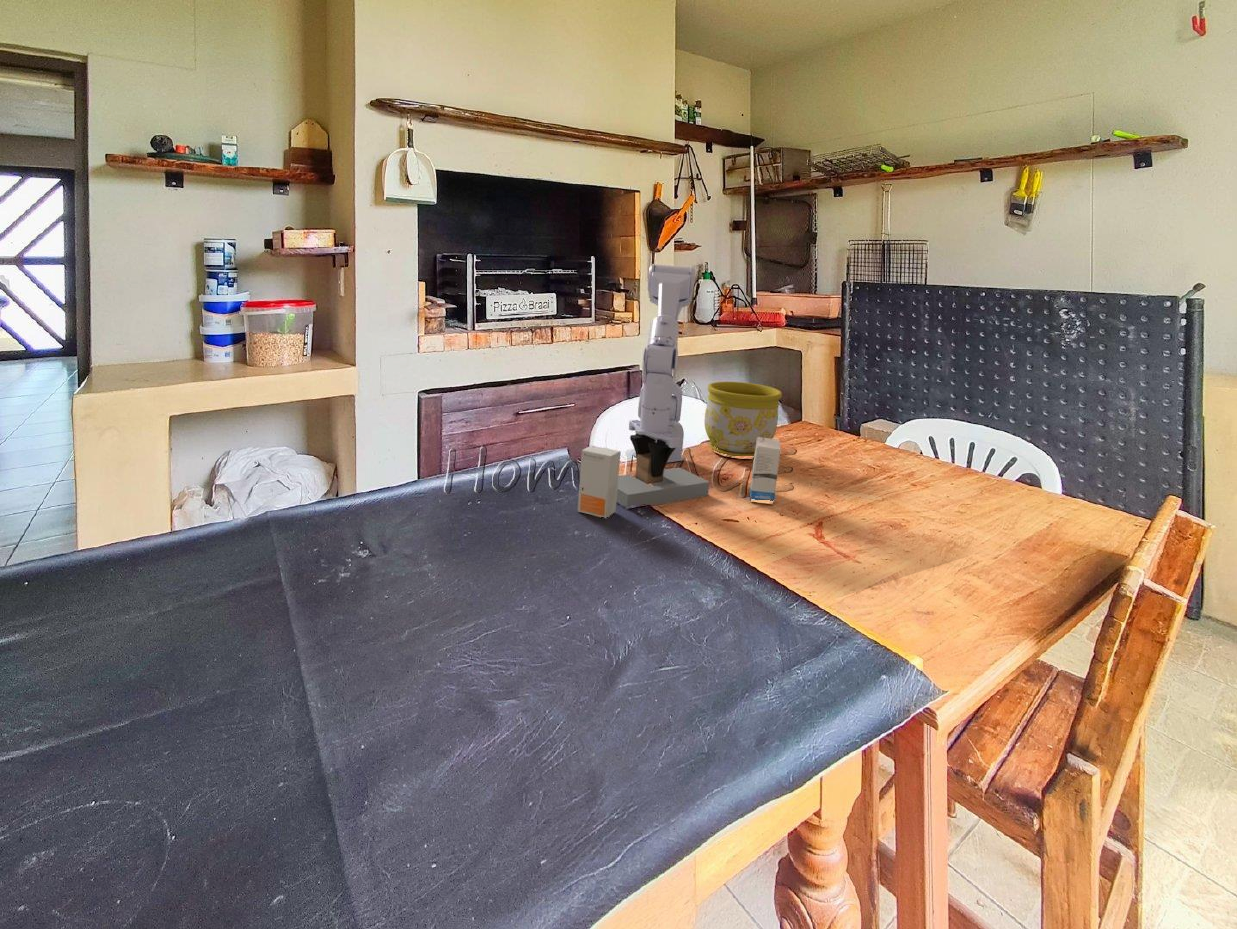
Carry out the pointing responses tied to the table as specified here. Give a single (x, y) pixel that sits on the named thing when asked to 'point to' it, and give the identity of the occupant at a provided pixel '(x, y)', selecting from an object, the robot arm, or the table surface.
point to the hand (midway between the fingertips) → (649, 472)
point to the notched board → (661, 488)
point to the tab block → (646, 469)
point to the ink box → (765, 469)
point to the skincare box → (598, 481)
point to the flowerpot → (740, 416)
